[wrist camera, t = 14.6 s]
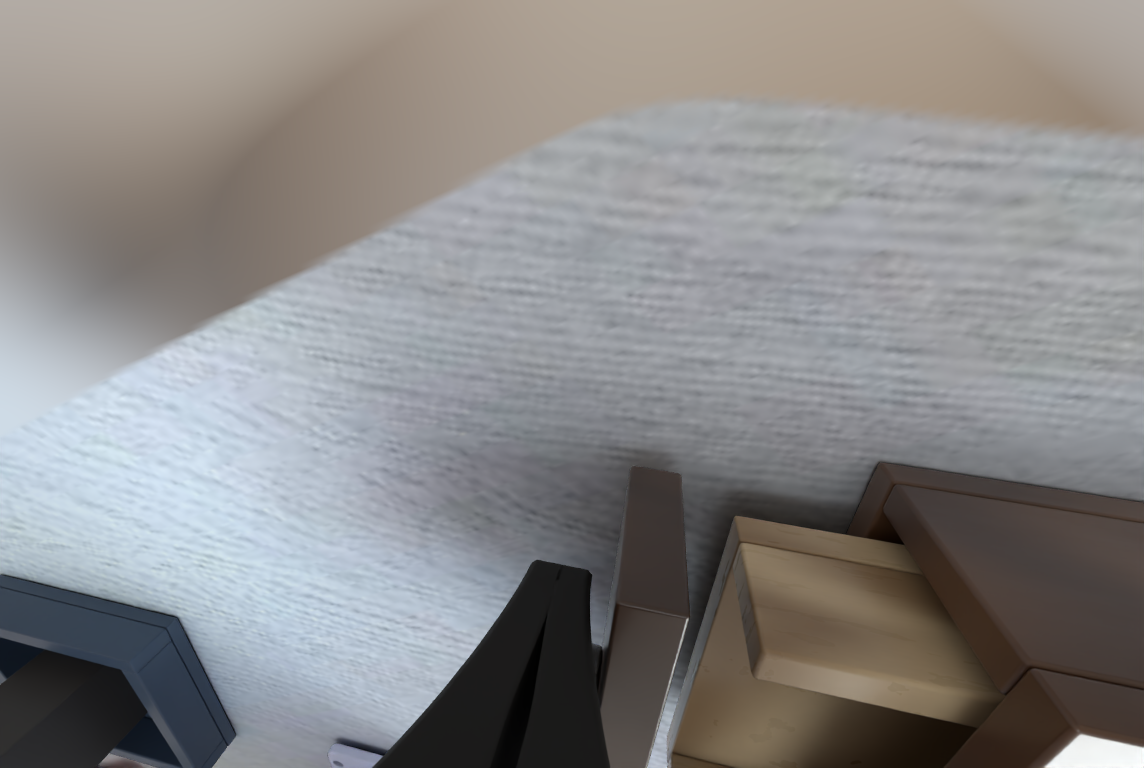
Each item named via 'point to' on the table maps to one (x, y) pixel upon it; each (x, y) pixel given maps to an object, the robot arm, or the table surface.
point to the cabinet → (1031, 608)
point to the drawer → (780, 649)
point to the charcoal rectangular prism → (64, 713)
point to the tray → (122, 667)
